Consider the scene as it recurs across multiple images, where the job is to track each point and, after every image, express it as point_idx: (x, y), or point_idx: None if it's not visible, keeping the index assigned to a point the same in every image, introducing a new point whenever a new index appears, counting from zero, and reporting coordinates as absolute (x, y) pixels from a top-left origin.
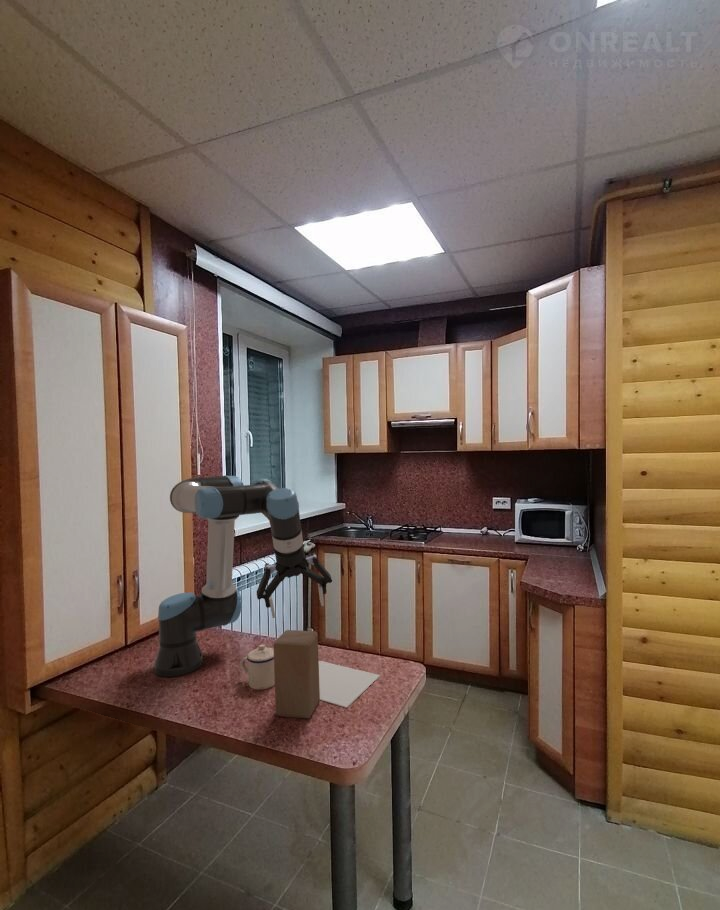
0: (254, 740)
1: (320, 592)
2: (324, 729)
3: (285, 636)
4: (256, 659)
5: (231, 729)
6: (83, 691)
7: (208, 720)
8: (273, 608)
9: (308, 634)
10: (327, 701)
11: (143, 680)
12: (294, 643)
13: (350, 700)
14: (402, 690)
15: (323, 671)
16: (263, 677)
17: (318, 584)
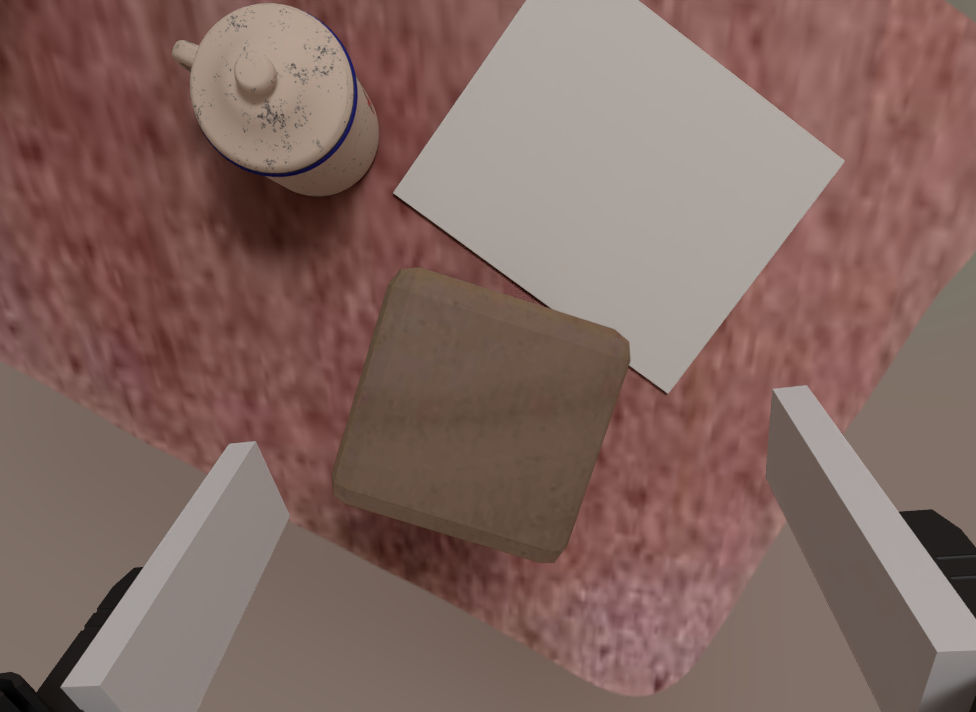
0: (342, 534)
1: (863, 660)
2: None
3: (403, 415)
4: (250, 163)
5: None
6: None
7: (152, 391)
8: (239, 616)
9: (569, 408)
10: None
11: None
12: (473, 535)
13: (687, 349)
14: (906, 298)
15: (590, 76)
16: (314, 186)
17: (921, 702)
